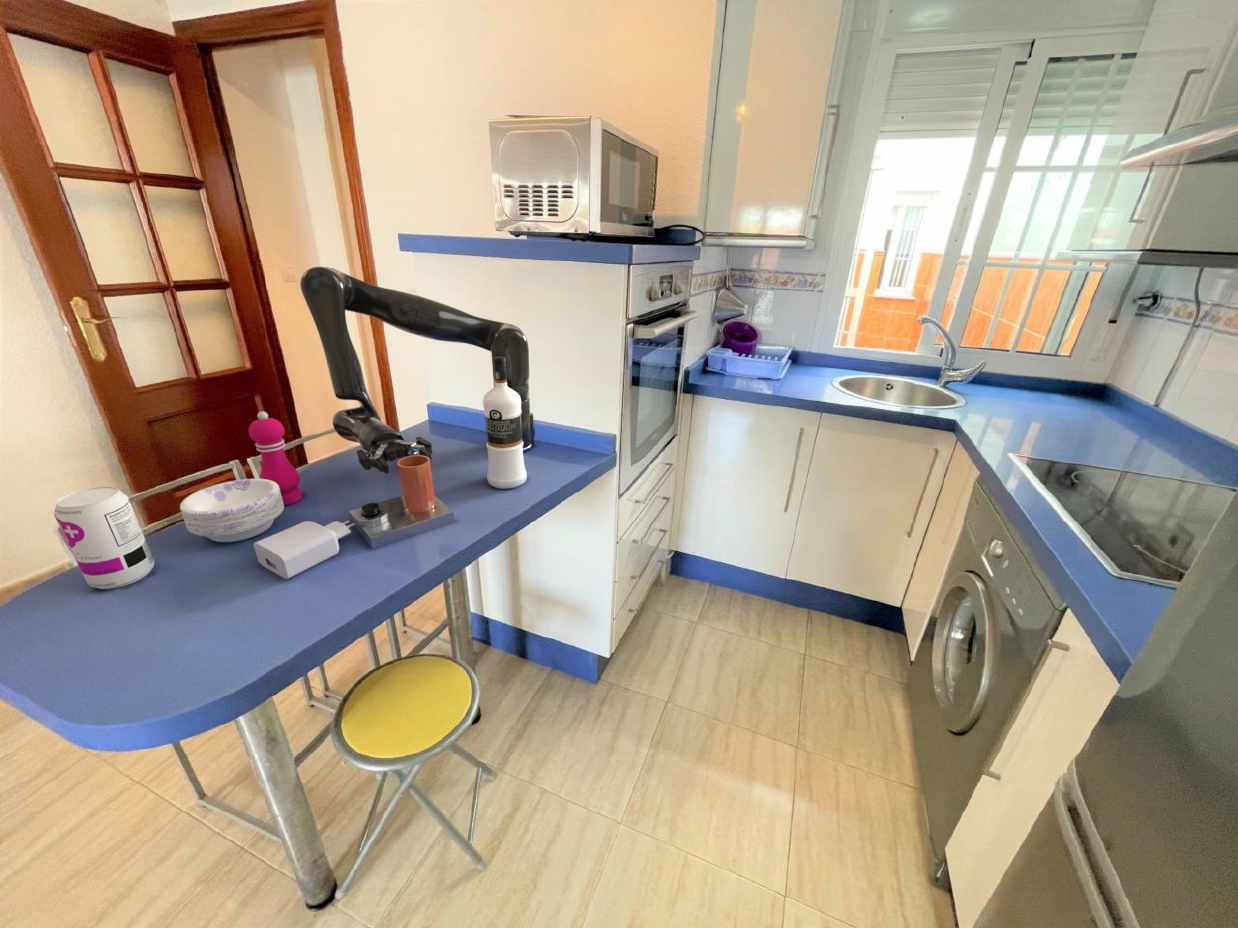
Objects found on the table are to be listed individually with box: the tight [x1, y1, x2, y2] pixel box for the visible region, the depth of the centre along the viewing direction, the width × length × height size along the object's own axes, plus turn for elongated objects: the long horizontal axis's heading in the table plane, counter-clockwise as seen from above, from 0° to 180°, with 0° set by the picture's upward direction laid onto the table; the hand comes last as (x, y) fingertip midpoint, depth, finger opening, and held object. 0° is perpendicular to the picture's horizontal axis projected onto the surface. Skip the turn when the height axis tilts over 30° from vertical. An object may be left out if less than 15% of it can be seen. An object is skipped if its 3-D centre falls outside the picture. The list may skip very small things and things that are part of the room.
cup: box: [396, 455, 436, 512], centre depth 102 cm, size 6×6×10 cm
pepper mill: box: [248, 411, 303, 506], centre depth 105 cm, size 7×7×20 cm
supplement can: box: [53, 485, 155, 590], centre depth 80 cm, size 8×8×15 cm
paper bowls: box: [179, 478, 285, 543], centre depth 96 cm, size 15×15×8 cm
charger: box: [252, 520, 355, 580], centre depth 91 cm, size 5×9×15 cm
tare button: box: [361, 502, 380, 518], centre depth 97 cm, size 3×3×2 cm
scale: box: [348, 495, 455, 550], centre depth 101 cm, size 16×13×4 cm
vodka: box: [482, 357, 528, 490], centre depth 114 cm, size 9×9×30 cm
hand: (408, 463), depth 103 cm, fingers open, 8 cm apart
